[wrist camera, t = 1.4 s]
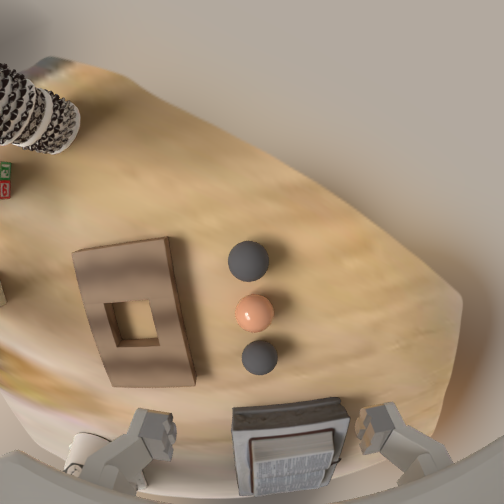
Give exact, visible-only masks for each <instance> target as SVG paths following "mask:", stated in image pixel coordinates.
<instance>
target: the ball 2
mask: <svg viewBox="0 0 504 504" xmlns="http://www.w3.org/2000/svg"><path fill="white" fill-rule="evenodd" d="M277 360H278V356H277V352H276V350H275V348H274V347H273V346H272V345H271V344H270V343H268V342H266V341H254V342H252V343H250V344H248V345H247V346H246V347H245V349H244V351H243V353H242V362H243V365H244V367H245V368H246V369H247V370H248V371H249V372H250V373H252V374H255V375H264V374H267V373H269V372H271V371H272V370H273V369H274V367H275V366H276V364H277Z"/></svg>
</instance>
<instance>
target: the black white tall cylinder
mask: <svg viewBox="0 0 504 504" xmlns="http://www.w3.org/2000/svg"><path fill="white" fill-rule="evenodd" d="M0 70H3V71H1V72H0V145H2V146H5V145H7V144H10V143H12V144H13V145H17V146H19V147H22V149H24V150H27V149H29V150H30V151H33V150H35V151H36V152H38V153H40V152H42V153H44V154H46V153H49V154H58V153H61V152H63V151H64V150H65V149H67V148H68V147H69V146H70V145H71V143H72V142H73V141H74V139H75V138H76V136H77V133H78V130H79V128H80V118H81V116H80V113H79V110H78V108H77V107H76V106H75V105H74V104H73V103H71V102H70V101H67V102H65V98H62V99H59V98H60V97H59V95H58V94H55V95H54V93H53V92H52V91H49V92H48V90H46V89H44V90H43V89H41V88H36V87H35V85H34V84H33V83H32V82H31V81H30V80H29V79H24V75H23V74H18V73H17V74H16V70H14V69H13V70H10V69H9V68H7V64H1V63H0ZM11 75H12V76H11Z"/></svg>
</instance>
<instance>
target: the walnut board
mask: <svg viewBox="0 0 504 504" xmlns="http://www.w3.org/2000/svg"><path fill="white" fill-rule="evenodd" d="M72 258H73V263H74V268H75V272H76V277H77V281H78V285H79V289H80V293H81V297H82V301H83V304H84V308H85V311H86V315H87V318H88V321H89V325H90V328H91V331H92V334H93V337H94V340H95V343H96V346H97V348H98V351H99V354H100V357H101V359H102V362H103V365H104V367H105V370H106V372H107V375H108V377H109V379H110V382H111V384H112V386H113V387H129V388H166V387H191V386H195V385H196V378H197V376H196V372H195V368H194V364H193V360H192V356H191V352H190V348H189V344H188V339H187V335H186V331H185V326H184V322H183V317H182V312H181V307H180V302H179V297H178V292H177V287H176V281H175V276H174V270H173V265H172V259H171V252H170V246H169V240H168V237H161V238H154V239H147V240H140V241H133V242H126V243H119V244H113V245H106V246H100V247H94V248H87V249H81V250H78V251H75V252H73V253H72ZM138 300H149V303H150V307H151V312H152V316H153V320H154V324H155V328H156V332H157V335H158V338H151V339H129V340H122V338H121V335H120V332H119V328H118V325H117V321H116V318H115V314H114V311H113V307H112V303H114V302H126V301H138Z"/></svg>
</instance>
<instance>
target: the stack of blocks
mask: <svg viewBox="0 0 504 504" xmlns="http://www.w3.org/2000/svg"><path fill="white" fill-rule="evenodd" d="M10 172H11V163H9V162H2V161H0V200H4V199H10Z"/></svg>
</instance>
